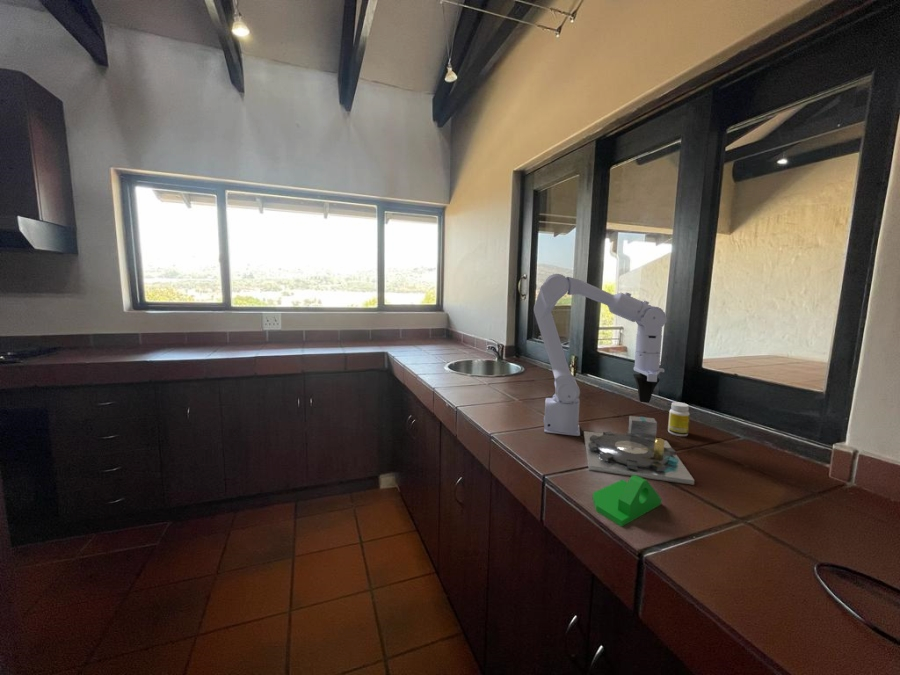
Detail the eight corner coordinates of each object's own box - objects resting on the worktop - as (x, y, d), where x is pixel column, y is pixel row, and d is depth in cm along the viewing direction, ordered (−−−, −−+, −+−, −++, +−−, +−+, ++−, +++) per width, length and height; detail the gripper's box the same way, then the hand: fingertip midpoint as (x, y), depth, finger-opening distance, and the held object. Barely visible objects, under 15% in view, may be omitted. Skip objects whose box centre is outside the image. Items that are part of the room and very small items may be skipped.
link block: (630, 438, 93) (631, 419, 93) (628, 433, 97) (629, 415, 96) (655, 440, 91) (657, 422, 91) (652, 435, 95) (653, 417, 94)
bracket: (621, 486, 71) (623, 454, 70) (660, 506, 64) (663, 471, 63) (582, 504, 65) (584, 469, 64) (621, 528, 58) (623, 490, 57)
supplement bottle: (691, 437, 93) (694, 407, 92) (671, 436, 94) (674, 406, 93) (683, 430, 98) (685, 402, 97) (664, 429, 99) (667, 401, 98)
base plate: (588, 469, 76) (589, 465, 76) (583, 434, 95) (583, 430, 95) (694, 485, 70) (694, 480, 70) (666, 444, 89) (666, 440, 89)
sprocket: (643, 479, 70) (645, 454, 69) (572, 444, 86) (573, 423, 86) (695, 458, 79) (697, 435, 78) (621, 429, 95) (622, 411, 94)
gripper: (673, 357, 82) (668, 412, 84) (658, 348, 96) (654, 395, 98) (640, 355, 85) (636, 409, 87) (630, 347, 98) (627, 393, 100)
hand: (644, 401), depth 92 cm, fingers closed
